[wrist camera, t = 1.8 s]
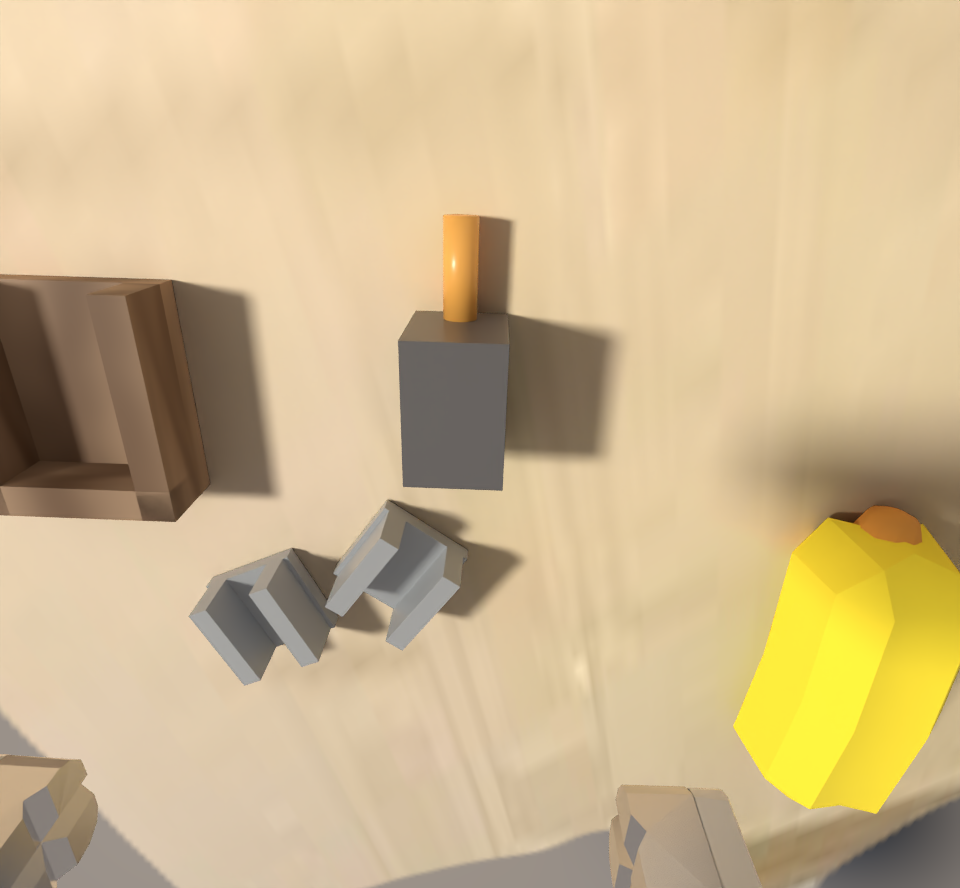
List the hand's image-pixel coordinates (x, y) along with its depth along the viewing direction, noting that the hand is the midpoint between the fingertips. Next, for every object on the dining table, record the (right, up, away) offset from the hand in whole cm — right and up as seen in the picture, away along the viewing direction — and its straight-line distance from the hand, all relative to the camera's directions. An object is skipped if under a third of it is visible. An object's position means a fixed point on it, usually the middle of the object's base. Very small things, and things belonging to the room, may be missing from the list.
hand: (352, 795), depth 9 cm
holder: (-16, +8, +19) cm, 26 cm away
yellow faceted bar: (+21, -5, +24) cm, 32 cm away
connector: (+1, +10, +17) cm, 20 cm away
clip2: (-9, -3, +24) cm, 26 cm away
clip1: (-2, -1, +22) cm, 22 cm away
